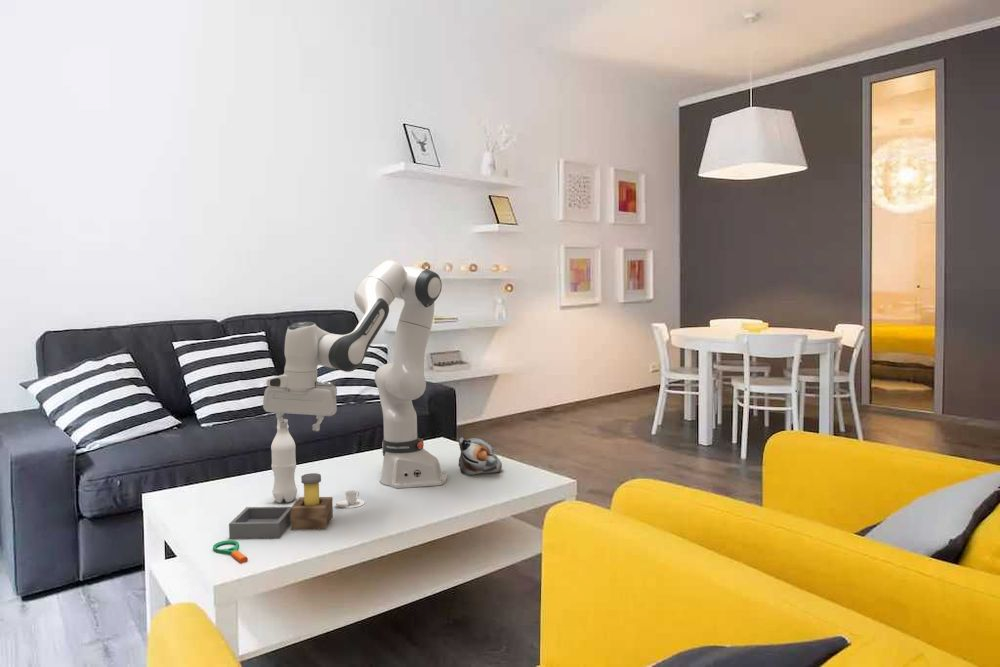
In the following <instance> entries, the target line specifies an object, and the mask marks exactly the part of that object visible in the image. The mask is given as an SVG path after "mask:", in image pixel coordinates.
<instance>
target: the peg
mask: <svg viewBox="0 0 1000 667" xmlns="http://www.w3.org/2000/svg"><path fill="white" fill-rule="evenodd" d="M300 478H301V481H300V482H301V483H302V484H303V497H304V506H319V497H320V483H321V482H322V475H321V474H320V473H318V472H317V473H316V472H315V473H305V474H303V475H301V476H300Z"/></svg>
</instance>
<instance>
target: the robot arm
mask: <svg viewBox="0 0 1000 667" xmlns="http://www.w3.org/2000/svg"><path fill="white" fill-rule="evenodd" d="M442 286H443V285H442V280H441V278H440V275H439V274H438V273H437V272H435V271H432V270H430V269H424V268H421V267H417V266H413V265H411V266H407V265H402V264H400V262H398V261H396V260H391V259H387V260H384V261H383V262H381V263H380V264H379V265H377V266H376V267H375V268H373V269H372V270H371V271H370V272H369V273H368V274H367V275H366V276H365V277H364V278H363V279H362V281H361V282H360V283H359V284H358V285H357V286H356V289H355V290H354V302H355V304H356V306H357V307H358V309H359V310H360V312H361V313H362V314H363V316H362V318H361V319H360V321H359V322H358V324H357V325H356V327H355V328H354V329H353V331H351V332H349V333H345V334H336V333H332V332H331V333H330V332H328V331H326V330H324V329H322V328H320V327H319V326H317V324H316V322H313V321H298V322H294V323H291V324H290V325H289V326H287V330H286V333H285V336H284V337H285V338H284V357H285V365H284V369H283V371H284V372H283V373H282V374H278V375H275V376H273V377H272V376H271V377H270V378H267V379H266V386H267V387H266V389H265V390H264V394H263V403H262V408H263V410H264V411H265V412H266V413H275V418H276V419H277V420H278V421H279V423H280V429H286V428H287V422H285V421H284V419H285V418H284V417H283V416H285V414H293V415H295V414H296V415H305V416H308V415H309V416H316V417H315V418H316V420H317V421H316V423H314V424H313V423H312V425H311V426H312V432H319V431H320V429H321V423H322V422H323V420H324V418H325V417H332V416H333V415H335V414H336V413H337V410H338V407H337V395H338V393H337V392H338V389H337V386H336V385H335V384H334V383H333V382H329V381H327V382H325V381H319V380H318V367H319V366H323V367H325V368H330V369H336V370H339V371H342V372H346V373H350V372H353V371H355V370H357V369H358V368H359V367H360V366H361V365H362V363H363V362H364V360H365V357H366V355H367V352H368V350H369V348H370V345H371V344H372V343H373V341H374V340H375V338H376V336H377V334H379V331H380V330H381V329H382V327H383V325H384V323H385V322H386V320H387V319H388V316H389V313H390V306H391V304H392V302H394V300H395V299H400V300H403V302H404V304H403V307H402V309H401V312H400V315H399V319H398V323H397V326H396V330H395V333H394V337H393V340H392V347H393V362H388V363H385V364H382V365H381V366H379V367H378V368H377V369H376V372H375V374H374V383H375V384H376V388H377V391H378V395H379V400H380V405H381V406H380V407H381V411H382V418H383V439H382V444H381V445H382V448H381V450H382V457H383V461H382V470H381V474H380V478H379V482H380V483H381V484H383V485H386V486H390V487H393V488H395V489H404V488H405V489H406V488H415V487H416V488H419V487H421V488H423V487H433V486H441V485H442V486H443V484H445V483H446V482H447V480H448V474H447V472H445V471H443V470H441V465H440V461H439V459H438V457H437V456H434V455H433V454H432V453H430V452H429V451H428V450H426V449H425V448H424V445H425V444H424V438H420V437H418V416H417V412H416V410H415V407H414V405H413V400H417V399H419V398H421V396H423V395H424V393H425V391H426V388H427V381H426V377H425V356H426V355H425V354H426V350H427V344H428V342H429V338H430V337H429V336H430V333H431V330H432V326H433V321H434V313H435V301H437V300H438V298H439V297H440V294H441V292H442Z"/></svg>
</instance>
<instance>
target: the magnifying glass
mask: <svg viewBox="0 0 1000 667" xmlns="http://www.w3.org/2000/svg"><path fill="white" fill-rule="evenodd" d="M226 545H233V546H232V547H228V548H224V549H221V548H220V547H223V546H226ZM239 550H240V543H239V541H237V540H235V539H227V540H221V541H217V543H214V544H213V546H212V551H213V552H214V553H217V554H223V555H225V556H227V555H228V556H230V557H232V558H233V559H235V560H236V561H237V562H239V563H240V564H244V563H246V562H248V557H247V556H246V555H245V554H243V553H241V552H240V551H239Z"/></svg>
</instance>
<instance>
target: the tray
mask: <svg viewBox="0 0 1000 667" xmlns="http://www.w3.org/2000/svg"><path fill="white" fill-rule="evenodd" d="M291 507H292V506H246V507H245V508H244V509H243V510H242V511H241V512H239V514H238V515H236V516H235V517H234V518H233V520H231V521H230V522H229V523H228V533H229V534H228V536H229V537H228V538H229V539H228V540H236V539H237V540H239V539H240V540H242V539H244V540H245V539H250V540H252V539H280V538H281V536H282V535H283V534H284V533H285V532H286V531H287V529H288V528H289V527H290V526H291V511H290V508H291Z"/></svg>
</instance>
